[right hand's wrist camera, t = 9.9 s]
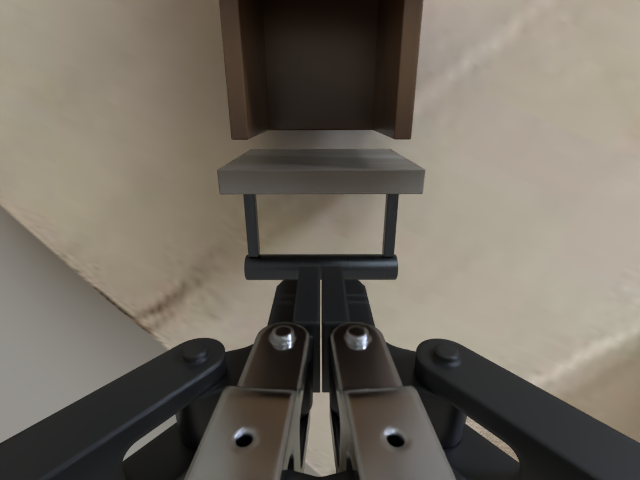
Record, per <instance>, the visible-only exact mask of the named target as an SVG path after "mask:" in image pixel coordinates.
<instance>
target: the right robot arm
mask: <svg viewBox="0 0 640 480" xmlns="http://www.w3.org/2000/svg"><path fill="white" fill-rule="evenodd" d="M313 392H320V266H300V267H299V275H298V279H284V280H283V281H282V282H281V283H280V284H279V285H278V286H277V288H276V292H275V297H274V301H273V305H272V309H271V313H270V317H269V321H268V326H266V327H265V328H263V329H262V330H261V331H260V332H259V333H258V335H257V337H256V339H255V342H254V344H252V345H250V346H248V347H245V348H241V349H237V350H233V351H228V352H225V348H224V346H223V344H222V343H221V342H219V341H217V340H215V339H211V338H198V339H193V340H189V341H186V342H184V343H182V344H180V345H178V346H176V347H174V348H172V349H171V350H169V351H167V352H165V353H163V354H161V355H160V356H158V357H156V358H154V359H152V360H151V361H149V362H147V363H145V364H143V365H141V366H140V367H138V368H136V369H134V370H132V371H131V372H129V373H127V374H125V375H123V376H121V377H120V378H118V379H116V380H114V381H112V382H111V383H109V384H107V385H105V386H103V387H102V388H100V389H98V390H96V391H94V392H92V393H91V394H89V395H87V396H85V397H83V398H82V399H80V400H78V401H76V402H74V403H73V404H71V405H69V406H67V407H65V408H63V409H62V410H60V411H58V412H56V413H54V414H52V415H51V416H49V417H47V418H45V419H43V420H42V421H40V422H38V423H36V424H34V425H33V426H31V427H29V428H27V429H25V430H24V431H22V432H20V433H18V434H16V435H14V436H13V437H11V438H9V439H7V440H5V441H3V442H2V443H0V480H640V443H638V442H637V441H635V440H633V439H631V438H629V437H627V436H626V435H624V434H622V433H620V432H618V431H617V430H615V429H613V428H611V427H609V426H608V425H606V424H604V423H602V422H600V421H598V420H597V419H595V418H593V417H591V416H589V415H588V414H586V413H584V412H582V411H580V410H578V409H577V408H575V407H573V406H571V405H569V404H568V403H566V402H564V401H562V400H560V399H558V398H557V397H555V396H553V395H551V394H549V393H548V392H546V391H544V390H542V389H540V388H539V387H537V386H535V385H533V384H531V383H529V382H528V381H526V380H524V379H522V378H520V377H519V376H517V375H515V374H513V373H511V372H509V371H508V370H506V369H504V368H502V367H500V366H499V365H497V364H495V363H493V362H491V361H489V360H488V359H486V358H484V357H482V356H480V355H479V354H477V353H475V352H473V351H471V350H470V349H468V348H466V347H464V346H462V345H460V344H458V343H456V342H453V341H450V340H445V339H429V340H426V341H423V342H422V343H420V344H419V345H418V347H417V349H416V352H415V351H410V350H406V349H402V348H398V347H395V346H392V345H390V344H388V343H387V342H385V339H384V337H383V335H382V333H381V332H380V331H379V330H378V329H377V328H375V325H374V321H373V317H372V313H371V309H370V305H369V301H368V297H367V293H366V289H365V286H364V285H363V284H362V283H361V282H360V281H359V280H357V279H344V276H343V269H342V266H322V392H330V425H331V433H332V441H333V450H334V458H335V466H336V474H332V475H328V476H324V477H316V476H312V475H308V474H304V466H305V458H306V449H307V441H308V433H309V425H310V409H311V407H312V403H313ZM175 414H176V419H177V422H176V423H175V424H174V425H172V426H171V427H170V428H168V429H167V430H165V431H164V432H163V433H161V434H160V435H159V436H157V437H156V438H154V439H153V440H152V441H150V442H149V443H148V444H146V445H145V446H143V447H142V448H141V449H139V450H138V451H137V452H135V453H134V454H132V455H131V456H130V457H128V458H127V459H126V460H124V461H123V458H124V456H125V454H126V452H127V451H128V449H129V448H130V447H131V446H132V445H133V444H134V443H135V442H136V441H138V440H139V439H140V438H142V437H143V436H145V435H146V434H148V433H149V432H150V431H152V430H153V429H155V428H156V427H158V426H159V425H160V424H162V423H163V422H165V421H166V420H168V419H169V418H170V417H172V416H173V415H175ZM467 416H468V417H470V418H471V419H472V420H474V421H475V422H477V423H478V424H480V425H481V426H482V427H484V428H485V429H487V430H488V431H490V432H491V433H492V434H494V435H495V436H497V437H498V438H499V439H501V440H502V441H504V442H505V443H506V444H508V445H509V446H510V447H511V448H512V450H513V451H514V452H515V454H516V455H517V457H518V459H519V462H520V463H519V462H517V461H516V460H515V459H513V458H512V457H510V456H509V455H508V454H506V453H505V452H504V451H502V450H501V449H499V448H498V447H497V446H495V445H494V444H492V443H491V442H490V441H488V440H487V439H486V438H484V437H483V436H481V435H480V434H479V433H477V432H476V431H475V430H473V429H472V428H470V427H469V426H468V425H466V424H465V422H466V418H467ZM122 461H123V462H122Z"/></svg>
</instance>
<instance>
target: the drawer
mask: <svg viewBox="0 0 640 480" xmlns="http://www.w3.org/2000/svg"><path fill="white" fill-rule="evenodd" d="M219 5H220V16H221V28H222V39H223V50H224V61H225V72H226V83H227V94H228V106H229V117H230V128H231V138H232V139H233V140H247V139H249V138H252V137H254V136H256V135H258V134H261V133H263V132H265V131H267V130H375V131H377V132H379V133H382V134H384V135H386V136H389V137H391V138H393V139H411V132H412V121H413V110H414V99H415V87H416V76H417V65H418V53H419V42H420V31H421V20H422V8H423V0H219ZM217 172H218V181H219V191H220V194H244V206H245V218H246V231H247V243H248V255H247V256H246V258H245V266H244V270H245V277H246V279H247V280H284V279H298V275H299V267H300V266H320V280H322V266H342V269H343V276H344V279H357V280H395V279H396V278H397V274H398V261H397V257H396V255H395V254H394V246H395V234H396V222H397V209H398V197H399V194H422V193H423V186H424V176H425V169H423V168H421V167H420V166H418V165H416V164H415V163H413V162H411V161H410V160H408V159H406V158H405V157H403V156H401V155H400V154H398V153H396V152H395V151H393V150H391V149H251V150H249V151H248V152H246V153H244V154H243V155H241V156H239V157H238V158H236V159H235V160H233V161H231V162H230V163H228V164H226V165H225V166H223V167H222V168H220V169H218V170H217ZM256 194H386V204H385V219H384V234H383V248H382V253H383V254H264V255H259V254H260V245H259V230H258V216H257V201H256Z"/></svg>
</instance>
